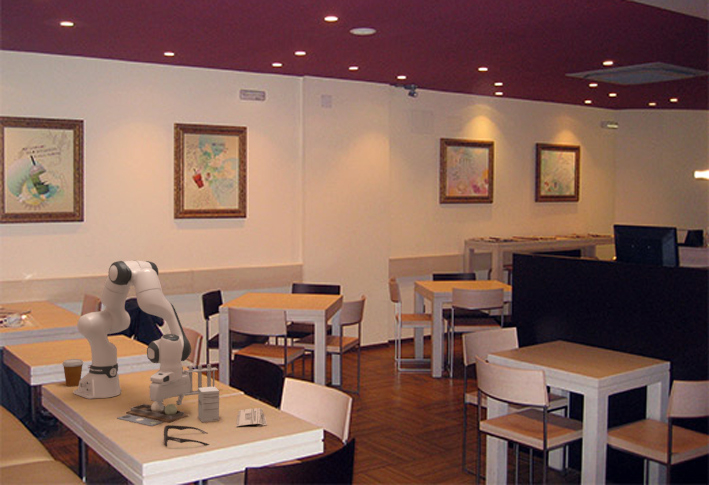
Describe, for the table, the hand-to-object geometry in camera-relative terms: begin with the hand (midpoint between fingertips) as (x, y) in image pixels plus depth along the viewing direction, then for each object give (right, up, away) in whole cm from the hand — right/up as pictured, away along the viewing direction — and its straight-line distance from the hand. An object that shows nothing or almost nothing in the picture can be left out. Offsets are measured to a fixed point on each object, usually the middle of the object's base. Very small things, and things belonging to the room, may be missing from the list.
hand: (170, 407), depth 291 cm
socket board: (-7, -4, +4) cm, 9 cm away
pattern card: (-12, -4, -4) cm, 13 cm away
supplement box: (+16, -5, -1) cm, 16 cm away
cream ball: (-7, -1, +4) cm, 8 cm away
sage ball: (0, -1, 0) cm, 1 cm away
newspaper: (+34, -6, +1) cm, 34 cm away
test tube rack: (-1, -3, +40) cm, 40 cm away
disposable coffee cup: (-62, -2, +53) cm, 81 cm away
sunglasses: (+13, -6, -28) cm, 32 cm away
